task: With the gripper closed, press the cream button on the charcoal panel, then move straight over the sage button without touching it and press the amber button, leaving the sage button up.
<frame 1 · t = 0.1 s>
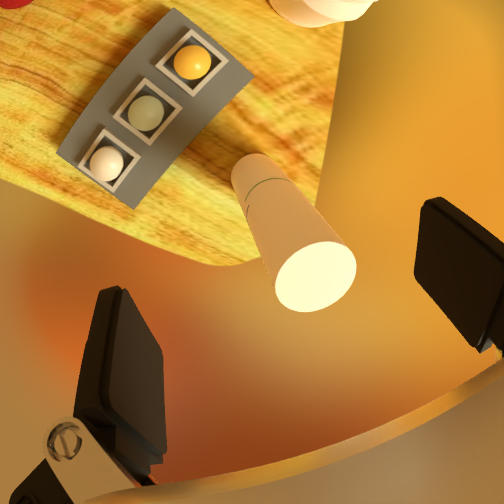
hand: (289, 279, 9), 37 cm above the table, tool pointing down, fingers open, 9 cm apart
button panel: (150, 107, 38), on the table
cylindrical container: (254, 176, 47), on the table
amber button: (192, 62, 32), point 5 cm above the table, slide at 0.0 cm
cream button: (106, 163, 36), point 5 cm above the table, slide at 0.0 cm
sage button: (146, 112, 34), point 5 cm above the table, slide at 0.0 cm
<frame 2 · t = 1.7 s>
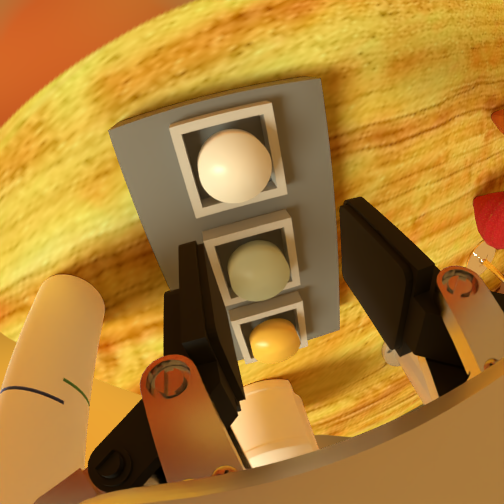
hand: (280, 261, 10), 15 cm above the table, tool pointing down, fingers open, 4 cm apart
button panel: (245, 235, 27), on the table
wineglass: (479, 257, 37), on the table
strawberry: (473, 198, 31), on the table
carrot: (490, 115, 25), on the table
cylindrical container: (71, 302, 28), on the table
amber button: (274, 341, 28), point 5 cm above the table, slide at 0.0 cm
cream button: (233, 165, 19), point 5 cm above the table, slide at 0.0 cm
jar: (263, 400, 43), on the table
sage button: (258, 271, 23), point 5 cm above the table, slide at 0.0 cm
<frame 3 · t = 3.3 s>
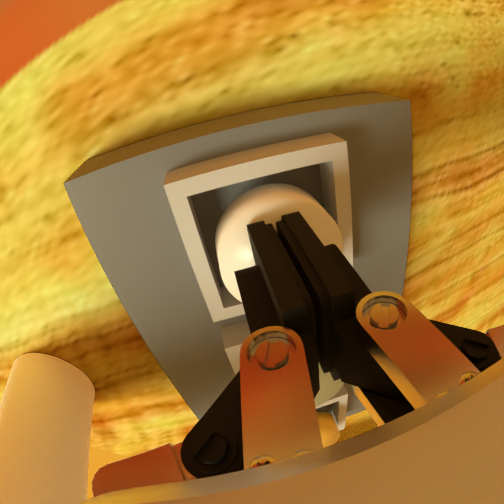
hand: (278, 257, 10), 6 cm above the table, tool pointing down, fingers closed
button panel: (276, 313, 20), on the table
cylindrical container: (53, 380, 20), on the table
amber button: (308, 435, 20), point 5 cm above the table, slide at 0.0 cm
cream button: (277, 248, 11), point 5 cm above the table, slide at 0.3 cm, touching gripper
sage button: (300, 379, 15), point 5 cm above the table, slide at 0.0 cm
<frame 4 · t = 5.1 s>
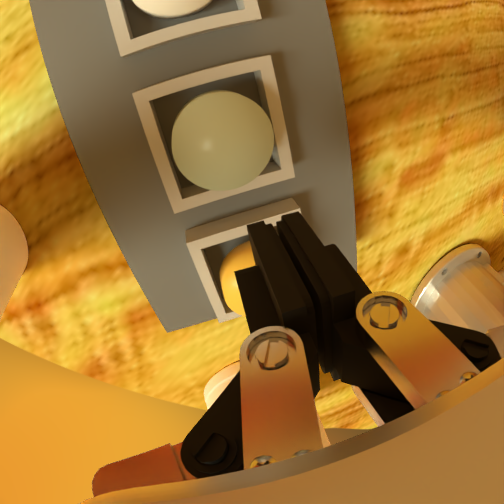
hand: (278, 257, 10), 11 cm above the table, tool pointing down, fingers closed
button panel: (209, 119, 17), on the table
amber button: (259, 279, 18), point 5 cm above the table, slide at 0.0 cm
jar: (256, 385, 33), on the table
sage button: (221, 138, 13), point 5 cm above the table, slide at 0.0 cm
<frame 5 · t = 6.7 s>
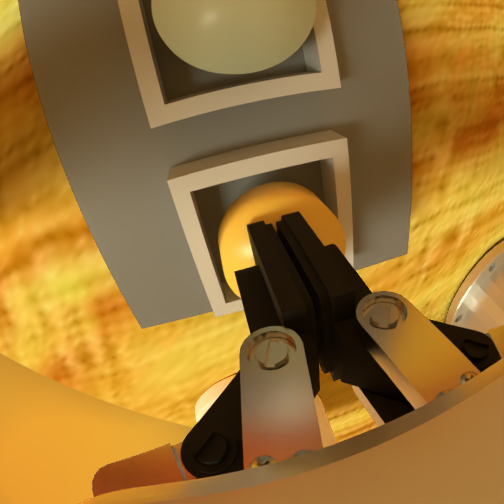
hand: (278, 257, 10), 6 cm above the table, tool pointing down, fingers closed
button panel: (216, 28, 11), on the table
amber button: (281, 246, 11), point 5 cm above the table, slide at 0.0 cm, touching gripper
jar: (260, 402, 26), on the table
sage button: (232, 5, 7), point 5 cm above the table, slide at 0.0 cm
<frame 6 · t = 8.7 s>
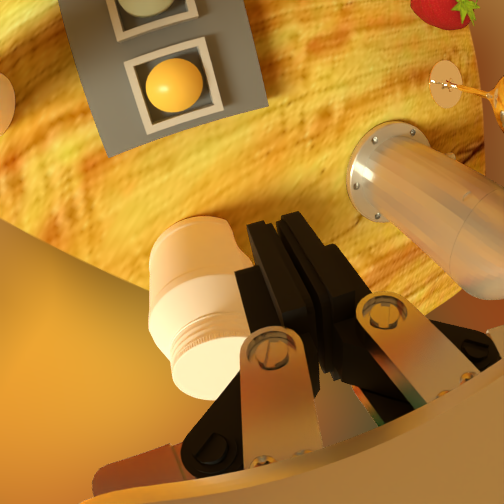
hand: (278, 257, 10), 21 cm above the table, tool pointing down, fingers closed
button panel: (151, 4, 20), on the table
wineglass: (444, 83, 30), on the table
strawberry: (411, 5, 24), on the table
amber button: (174, 84, 21), point 4 cm above the table, slide at 1.1 cm
jar: (201, 261, 36), on the table
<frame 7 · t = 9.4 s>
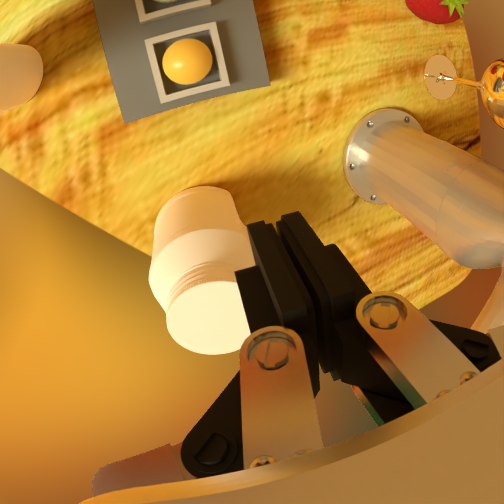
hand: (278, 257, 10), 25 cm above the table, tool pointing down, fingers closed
wineglass: (439, 76, 32), on the table
strawberry: (407, 3, 26), on the table
cylindrical container: (16, 75, 23), on the table
amber button: (187, 61, 24), point 4 cm above the table, slide at 1.1 cm
jar: (203, 230, 38), on the table
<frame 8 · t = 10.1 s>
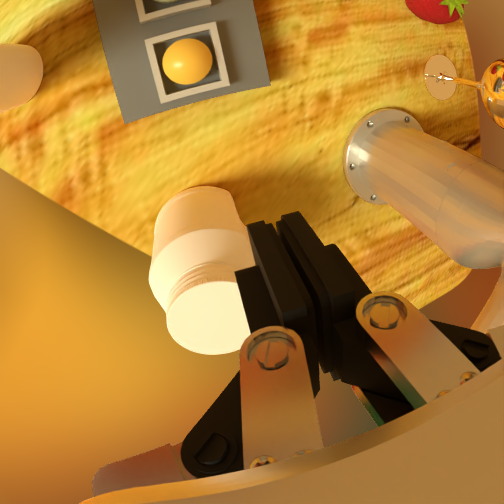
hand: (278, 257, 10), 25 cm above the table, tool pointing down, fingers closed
wineglass: (439, 76, 32), on the table
strawberry: (407, 3, 26), on the table
cylindrical container: (16, 75, 23), on the table
amber button: (187, 61, 24), point 4 cm above the table, slide at 1.1 cm
jar: (203, 230, 38), on the table
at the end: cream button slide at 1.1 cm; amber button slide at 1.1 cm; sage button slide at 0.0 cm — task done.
